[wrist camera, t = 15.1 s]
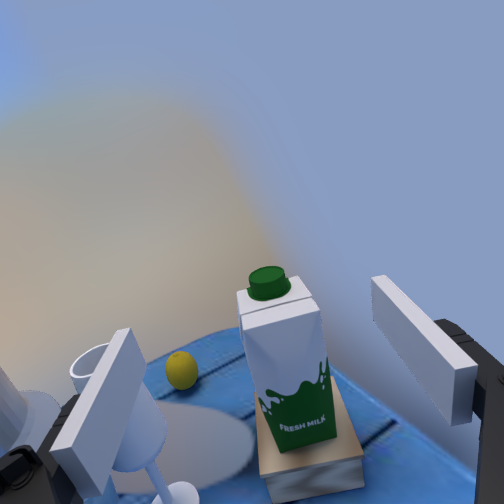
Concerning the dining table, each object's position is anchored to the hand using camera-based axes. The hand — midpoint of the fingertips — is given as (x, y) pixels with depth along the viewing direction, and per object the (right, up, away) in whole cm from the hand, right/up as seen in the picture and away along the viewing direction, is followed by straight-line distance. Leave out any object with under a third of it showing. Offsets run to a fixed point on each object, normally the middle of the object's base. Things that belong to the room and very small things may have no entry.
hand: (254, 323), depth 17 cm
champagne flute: (-10, -28, +21) cm, 37 cm away
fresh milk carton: (+6, -18, +22) cm, 29 cm away
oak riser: (+7, -23, +24) cm, 34 cm away
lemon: (-12, -21, +40) cm, 47 cm away
